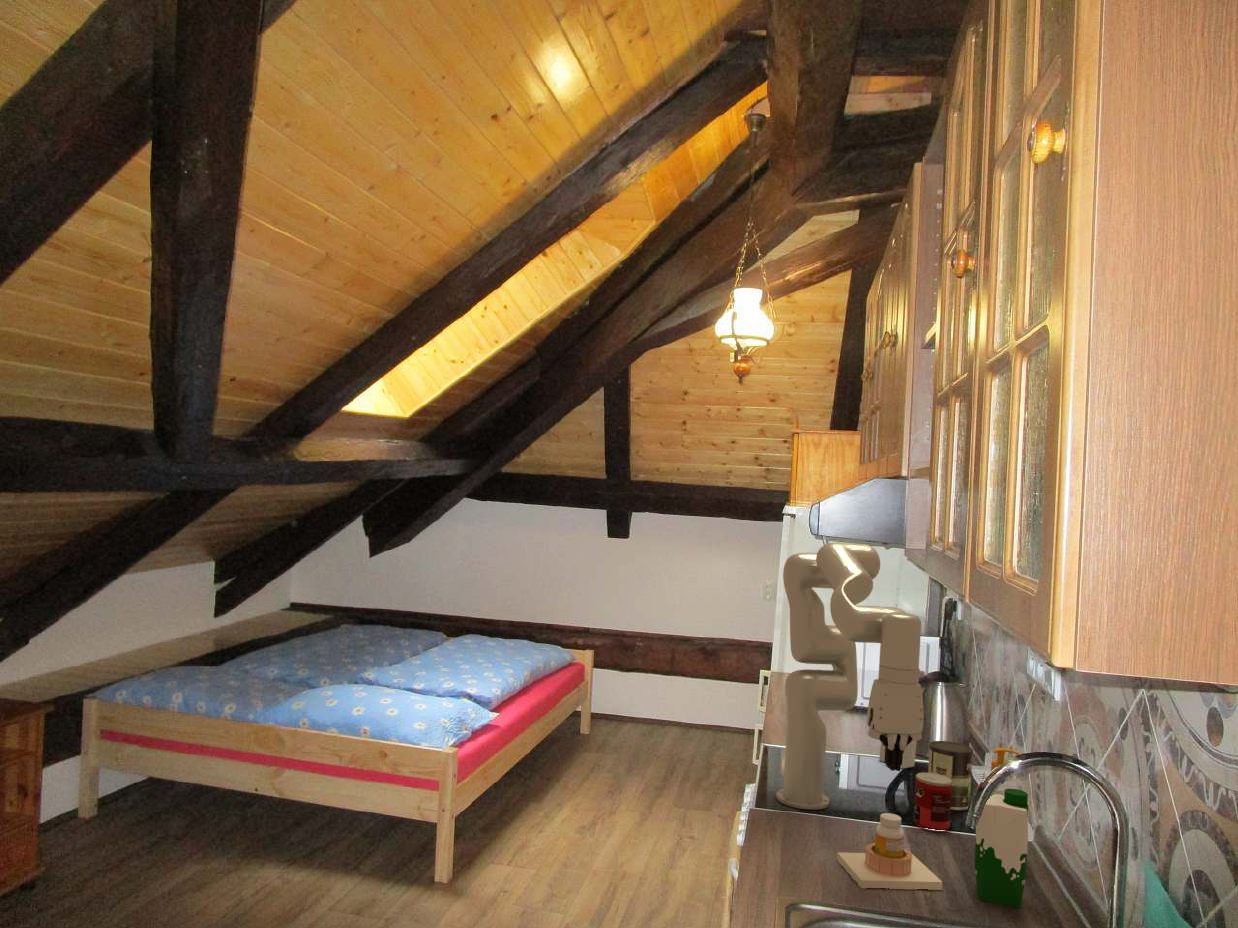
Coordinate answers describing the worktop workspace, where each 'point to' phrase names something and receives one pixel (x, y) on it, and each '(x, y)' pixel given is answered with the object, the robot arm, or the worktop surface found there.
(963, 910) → the worktop surface
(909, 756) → the skincare box
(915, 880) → the coaster board
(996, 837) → the milk carton
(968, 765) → the coffee can
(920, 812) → the canned food
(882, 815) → the supplement bottle
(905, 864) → the bottle collar
